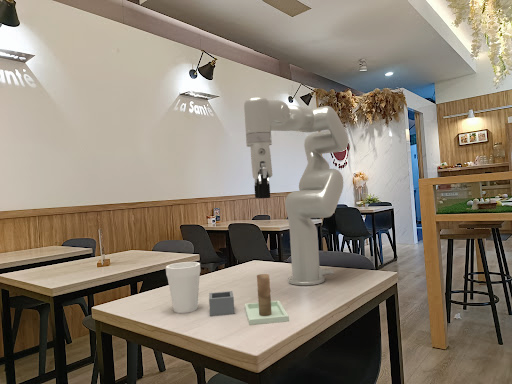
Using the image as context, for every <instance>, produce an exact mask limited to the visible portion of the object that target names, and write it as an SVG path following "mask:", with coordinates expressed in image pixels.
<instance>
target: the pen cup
mask: <svg viewBox="0 0 512 384" xmlns="http://www.w3.org/2000/svg"><path fill="white" fill-rule="evenodd" d="M208 304H209V305H208V307H209V316H210V317H217V316H229V315H235V299H234V293H233V290H229V291H228V290H227V291H217V292H209V293H208Z"/></svg>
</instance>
